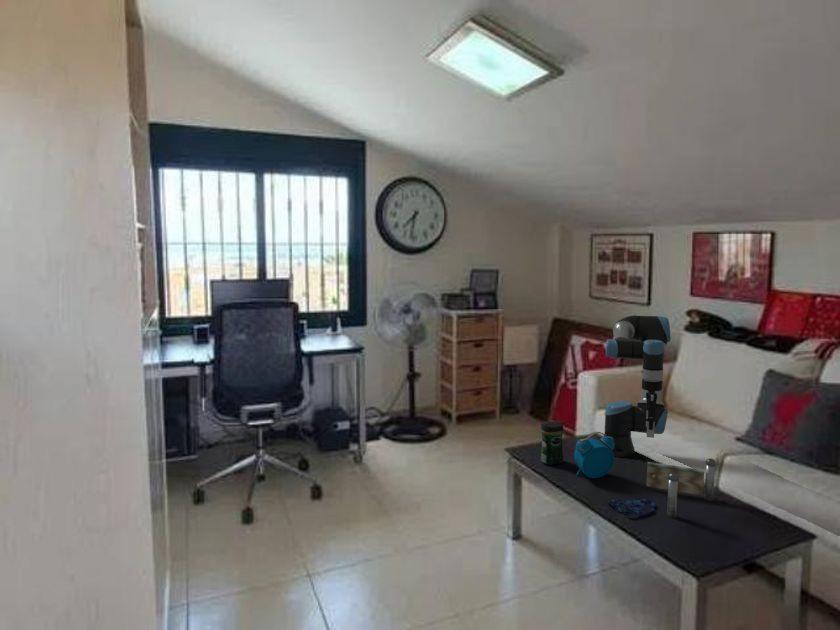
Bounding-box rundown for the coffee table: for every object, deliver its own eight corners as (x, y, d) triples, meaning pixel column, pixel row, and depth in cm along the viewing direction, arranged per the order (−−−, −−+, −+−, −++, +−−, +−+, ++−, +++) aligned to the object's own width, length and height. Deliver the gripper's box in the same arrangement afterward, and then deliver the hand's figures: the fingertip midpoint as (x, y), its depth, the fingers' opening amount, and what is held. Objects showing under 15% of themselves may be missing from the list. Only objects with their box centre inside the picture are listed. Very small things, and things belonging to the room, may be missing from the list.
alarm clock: (603, 469, 247) (604, 424, 245) (617, 479, 237) (619, 432, 235) (568, 474, 243) (569, 428, 240) (580, 483, 233) (582, 435, 231)
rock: (603, 503, 216) (603, 498, 216) (642, 498, 221) (643, 493, 220) (627, 522, 202) (627, 517, 202) (668, 516, 207) (669, 511, 206)
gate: (702, 493, 220) (704, 470, 219) (702, 497, 217) (704, 473, 216) (646, 484, 229) (647, 461, 228) (646, 487, 226) (647, 464, 225)
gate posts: (706, 496, 221) (709, 456, 219) (715, 499, 218) (717, 459, 216) (664, 515, 206) (666, 472, 204) (673, 519, 203) (675, 475, 201)
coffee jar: (556, 457, 261) (557, 417, 259) (565, 464, 254) (566, 423, 251) (537, 460, 259) (538, 419, 256) (545, 466, 251) (546, 425, 249)
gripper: (641, 372, 239) (639, 421, 242) (642, 386, 216) (640, 440, 219) (661, 373, 237) (658, 423, 239) (664, 387, 214) (661, 443, 216)
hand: (649, 431), depth 229 cm, fingers open, 13 cm apart
